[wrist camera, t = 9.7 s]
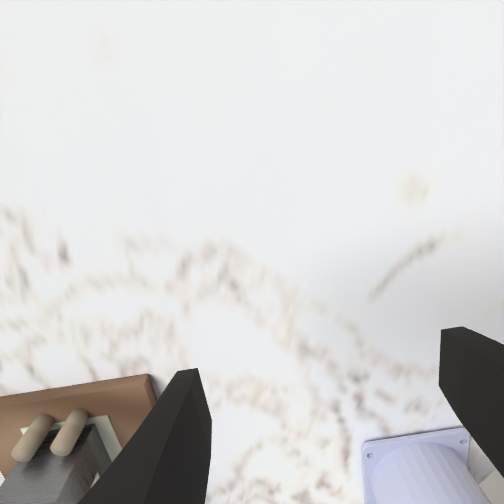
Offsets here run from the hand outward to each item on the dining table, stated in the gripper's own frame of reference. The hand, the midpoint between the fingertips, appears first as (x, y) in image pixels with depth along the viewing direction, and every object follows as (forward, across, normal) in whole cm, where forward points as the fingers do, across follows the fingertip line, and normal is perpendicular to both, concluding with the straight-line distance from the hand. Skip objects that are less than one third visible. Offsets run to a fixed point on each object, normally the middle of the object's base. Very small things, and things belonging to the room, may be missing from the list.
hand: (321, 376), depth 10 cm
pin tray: (+10, +16, +15) cm, 24 cm away
